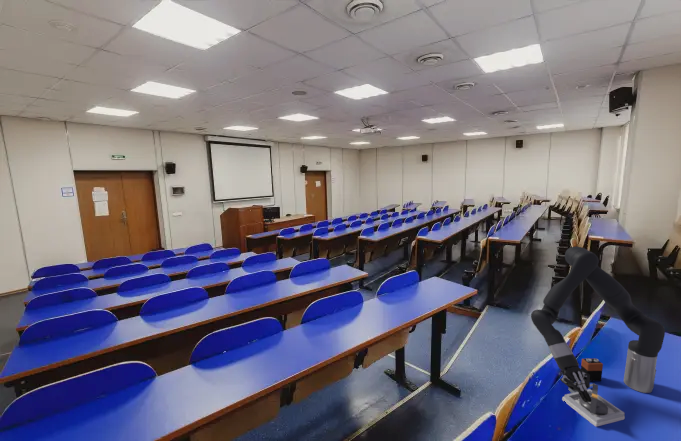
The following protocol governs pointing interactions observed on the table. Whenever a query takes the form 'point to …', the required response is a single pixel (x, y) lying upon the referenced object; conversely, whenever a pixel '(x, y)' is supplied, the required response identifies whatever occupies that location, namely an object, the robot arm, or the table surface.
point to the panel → (595, 419)
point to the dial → (594, 403)
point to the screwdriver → (576, 391)
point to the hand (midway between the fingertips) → (588, 401)
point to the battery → (592, 368)
